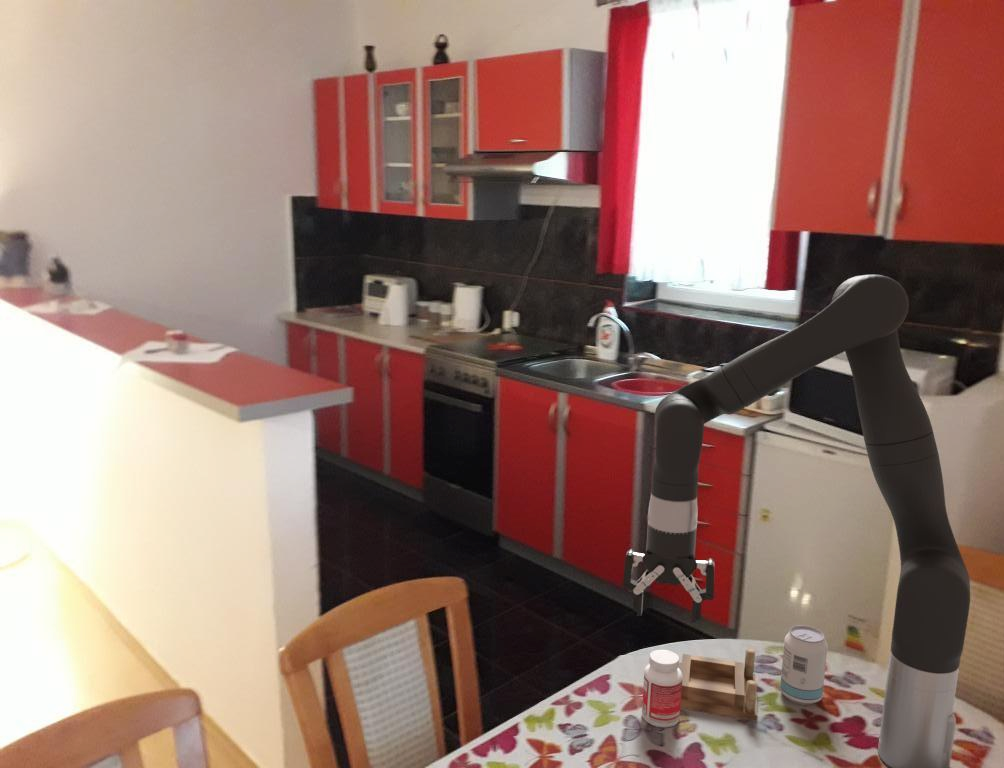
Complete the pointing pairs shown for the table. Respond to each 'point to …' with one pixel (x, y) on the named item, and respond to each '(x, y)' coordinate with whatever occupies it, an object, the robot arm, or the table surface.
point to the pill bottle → (662, 689)
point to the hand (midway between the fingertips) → (666, 617)
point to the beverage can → (803, 665)
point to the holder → (719, 686)
